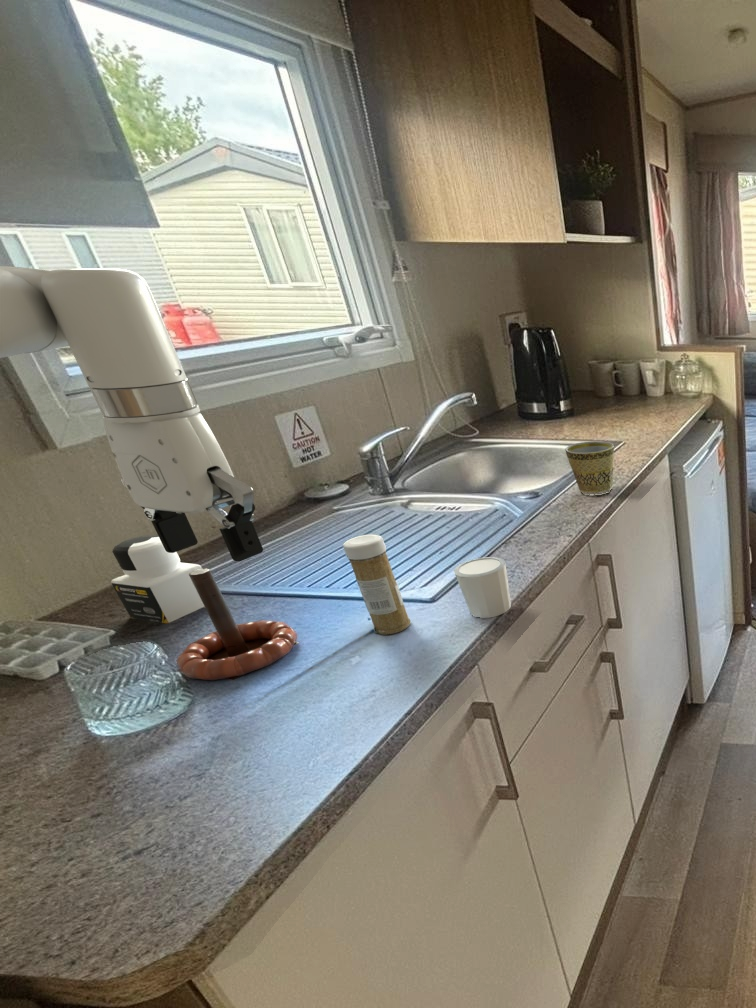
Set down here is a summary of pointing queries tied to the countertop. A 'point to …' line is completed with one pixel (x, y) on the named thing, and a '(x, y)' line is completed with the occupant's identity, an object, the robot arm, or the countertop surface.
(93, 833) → the countertop surface
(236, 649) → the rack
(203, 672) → the ring
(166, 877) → the countertop surface
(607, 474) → the ceramic cup
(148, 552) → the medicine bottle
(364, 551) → the sprinkles bottle
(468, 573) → the white tapered tub
